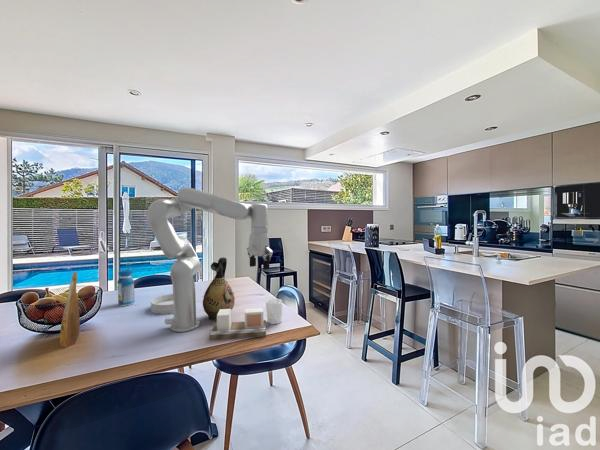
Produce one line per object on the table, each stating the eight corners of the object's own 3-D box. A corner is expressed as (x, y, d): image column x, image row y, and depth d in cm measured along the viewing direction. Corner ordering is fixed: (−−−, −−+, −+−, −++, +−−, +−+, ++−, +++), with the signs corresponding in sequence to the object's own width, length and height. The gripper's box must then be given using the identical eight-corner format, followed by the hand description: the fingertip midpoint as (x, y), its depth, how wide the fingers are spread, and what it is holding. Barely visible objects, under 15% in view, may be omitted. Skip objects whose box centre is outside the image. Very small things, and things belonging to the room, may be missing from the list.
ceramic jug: (226, 324, 136) (225, 261, 135) (197, 322, 140) (195, 260, 138) (241, 311, 153) (239, 255, 152) (214, 310, 156) (212, 255, 155)
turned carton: (219, 324, 131) (219, 309, 130) (231, 323, 131) (231, 308, 131) (216, 331, 123) (216, 315, 122) (229, 331, 123) (228, 314, 123)
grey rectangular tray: (209, 340, 119) (209, 332, 119) (215, 327, 132) (215, 320, 132) (265, 336, 122) (265, 329, 122) (265, 324, 135) (265, 317, 135)
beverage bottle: (129, 306, 165) (127, 271, 164) (114, 306, 165) (113, 271, 164) (137, 301, 173) (136, 268, 173) (124, 301, 174) (122, 268, 173)
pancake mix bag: (85, 330, 132) (82, 269, 130) (78, 346, 115) (75, 277, 114) (66, 333, 128) (63, 271, 127) (57, 351, 112) (53, 279, 111)
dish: (200, 301, 173) (200, 293, 172) (181, 314, 151) (181, 305, 150) (165, 301, 175) (164, 293, 175) (141, 314, 153) (141, 304, 153)
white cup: (284, 319, 141) (284, 299, 141) (279, 325, 134) (279, 304, 133) (269, 318, 144) (269, 298, 143) (263, 323, 136) (263, 303, 135)
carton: (244, 328, 125) (244, 313, 125) (245, 324, 131) (245, 309, 130) (263, 327, 126) (263, 312, 126) (263, 323, 132) (263, 308, 131)
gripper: (241, 230, 136) (241, 266, 136) (265, 232, 124) (265, 271, 125) (254, 229, 141) (254, 264, 142) (278, 231, 129) (278, 269, 130)
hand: (259, 267), depth 133 cm, fingers open, 9 cm apart
